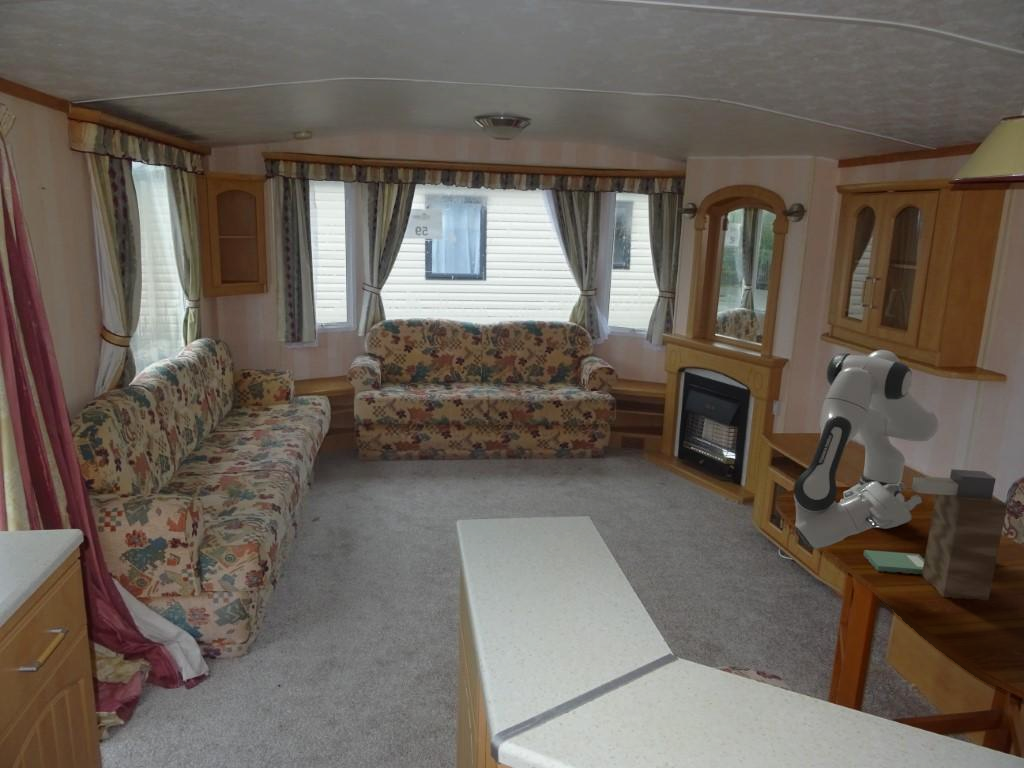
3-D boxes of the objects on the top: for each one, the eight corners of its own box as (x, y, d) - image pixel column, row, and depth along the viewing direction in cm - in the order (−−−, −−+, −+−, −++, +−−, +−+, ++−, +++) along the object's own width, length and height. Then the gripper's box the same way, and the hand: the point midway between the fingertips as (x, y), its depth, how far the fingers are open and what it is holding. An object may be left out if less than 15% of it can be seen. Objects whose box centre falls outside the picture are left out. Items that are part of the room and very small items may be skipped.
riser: (921, 575, 199) (937, 484, 193) (963, 578, 198) (981, 487, 192) (943, 597, 187) (961, 501, 182) (988, 600, 186) (1007, 504, 181)
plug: (909, 486, 191) (913, 466, 190) (980, 491, 189) (983, 471, 188) (919, 494, 185) (923, 473, 184) (991, 499, 184) (995, 478, 183)
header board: (863, 554, 210) (864, 550, 210) (917, 558, 209) (918, 554, 209) (877, 570, 200) (878, 565, 200) (934, 575, 199) (935, 570, 199)
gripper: (870, 518, 180) (925, 495, 178) (841, 489, 200) (890, 467, 198) (880, 540, 181) (935, 517, 179) (850, 508, 201) (899, 487, 199)
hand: (911, 491), depth 188 cm, fingers open, 8 cm apart
